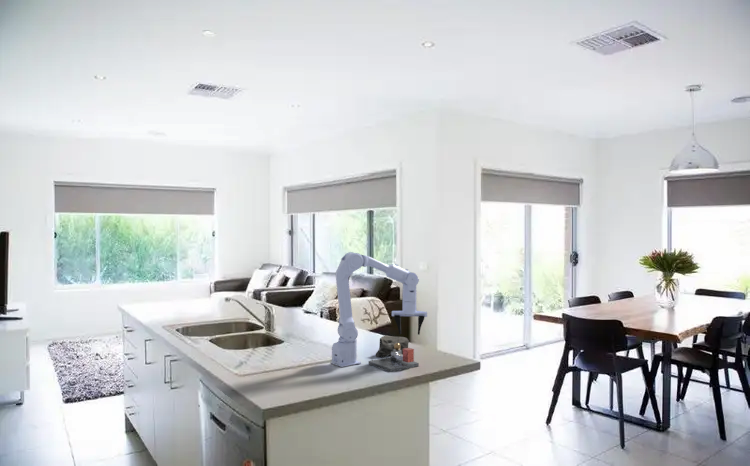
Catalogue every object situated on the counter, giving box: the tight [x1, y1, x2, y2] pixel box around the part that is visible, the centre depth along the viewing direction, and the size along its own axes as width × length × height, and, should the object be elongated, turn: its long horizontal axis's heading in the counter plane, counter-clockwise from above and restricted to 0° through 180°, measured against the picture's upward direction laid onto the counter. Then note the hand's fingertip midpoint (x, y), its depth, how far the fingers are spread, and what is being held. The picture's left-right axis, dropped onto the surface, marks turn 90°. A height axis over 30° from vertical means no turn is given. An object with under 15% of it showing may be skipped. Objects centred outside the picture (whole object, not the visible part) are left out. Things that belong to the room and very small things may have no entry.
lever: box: [390, 347, 415, 363], centre depth 205 cm, size 12×3×5 cm, turn 36°
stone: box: [374, 334, 410, 359], centre depth 224 cm, size 18×9×10 cm
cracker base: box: [368, 343, 420, 373], centre depth 204 cm, size 14×14×7 cm
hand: (409, 333), depth 214 cm, fingers open, 7 cm apart
